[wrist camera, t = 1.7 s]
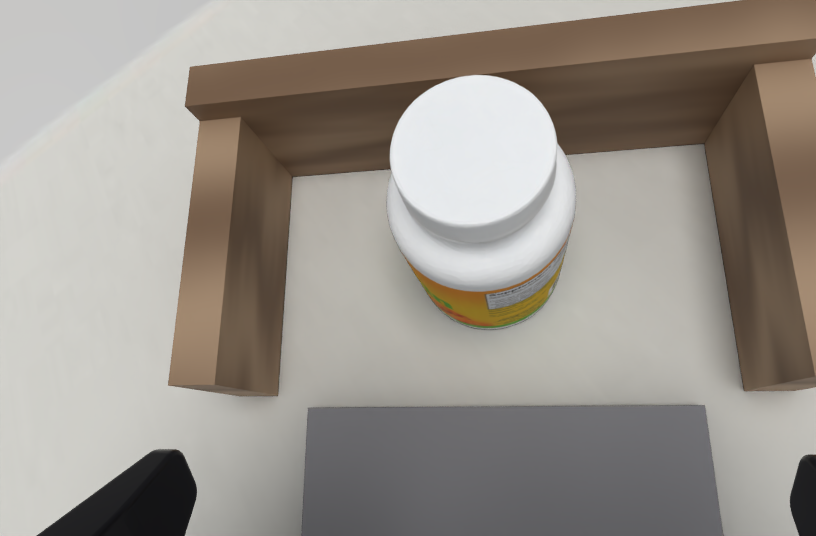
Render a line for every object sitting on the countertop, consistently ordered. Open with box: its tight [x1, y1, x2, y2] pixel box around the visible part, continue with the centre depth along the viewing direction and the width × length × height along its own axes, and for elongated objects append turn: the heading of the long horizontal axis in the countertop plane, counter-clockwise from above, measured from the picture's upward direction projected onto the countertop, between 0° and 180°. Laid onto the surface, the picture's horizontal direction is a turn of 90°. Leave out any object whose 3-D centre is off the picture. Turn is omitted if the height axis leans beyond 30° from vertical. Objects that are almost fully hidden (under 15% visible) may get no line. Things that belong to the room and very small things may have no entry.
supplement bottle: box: [386, 75, 576, 329], centre depth 18 cm, size 5×5×10 cm
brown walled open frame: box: [168, 0, 816, 396], centre depth 20 cm, size 11×20×6 cm, turn 90°
